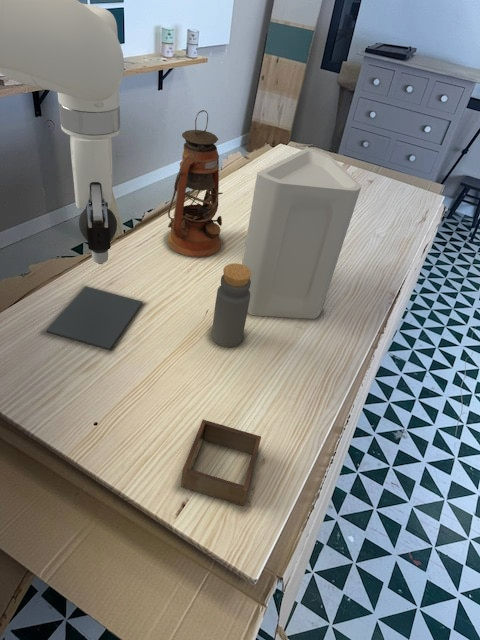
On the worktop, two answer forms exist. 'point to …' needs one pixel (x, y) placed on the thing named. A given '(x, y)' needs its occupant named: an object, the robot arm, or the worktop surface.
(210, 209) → the lantern
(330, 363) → the worktop surface
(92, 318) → the mat
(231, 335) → the bottle
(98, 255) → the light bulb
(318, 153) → the triangular concrete planter
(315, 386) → the worktop surface
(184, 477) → the crate
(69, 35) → the robot arm
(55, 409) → the worktop surface
